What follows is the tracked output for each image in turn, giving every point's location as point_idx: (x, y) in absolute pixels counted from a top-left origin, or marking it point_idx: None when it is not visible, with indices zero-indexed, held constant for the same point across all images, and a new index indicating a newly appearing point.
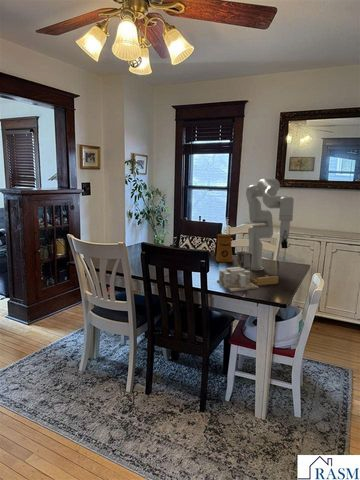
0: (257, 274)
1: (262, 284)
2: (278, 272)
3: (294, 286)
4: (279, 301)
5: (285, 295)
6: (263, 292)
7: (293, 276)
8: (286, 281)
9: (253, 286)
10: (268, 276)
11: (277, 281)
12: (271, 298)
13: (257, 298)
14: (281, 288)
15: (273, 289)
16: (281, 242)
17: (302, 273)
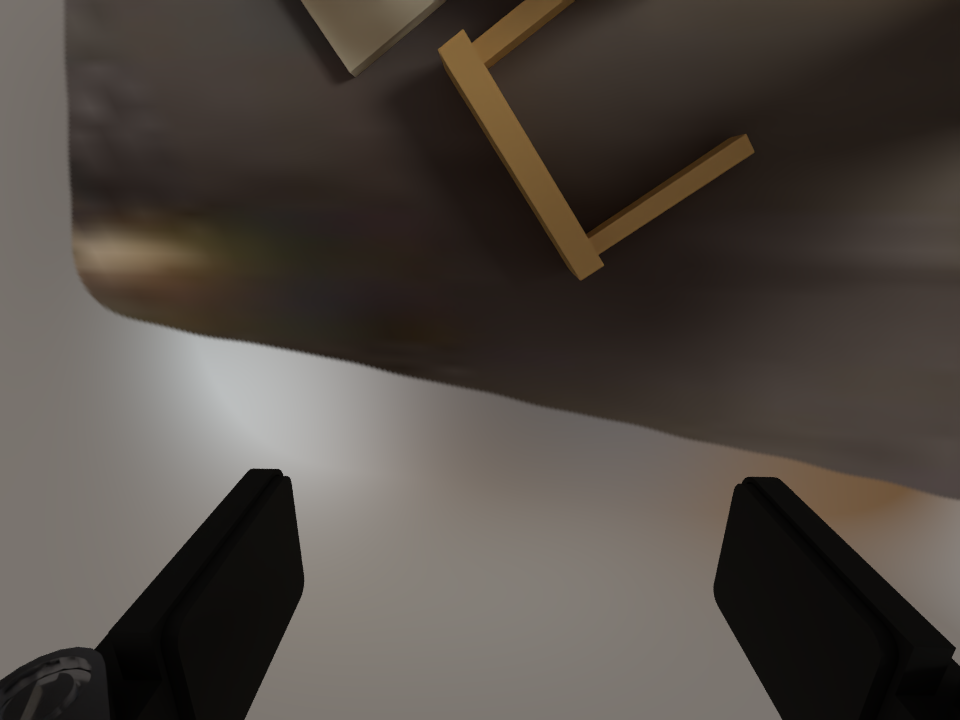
0: (862, 45)
1: (475, 117)
2: (947, 284)
3: (512, 398)
4: (101, 269)
5: (260, 319)
6: (257, 134)
7: (808, 411)
8: (641, 345)
9: (327, 15)
10: (690, 176)
11: (568, 266)
12: (136, 207)
13: (74, 81)
14: (426, 295)
15: (375, 226)
16: (781, 531)
17: (910, 487)
